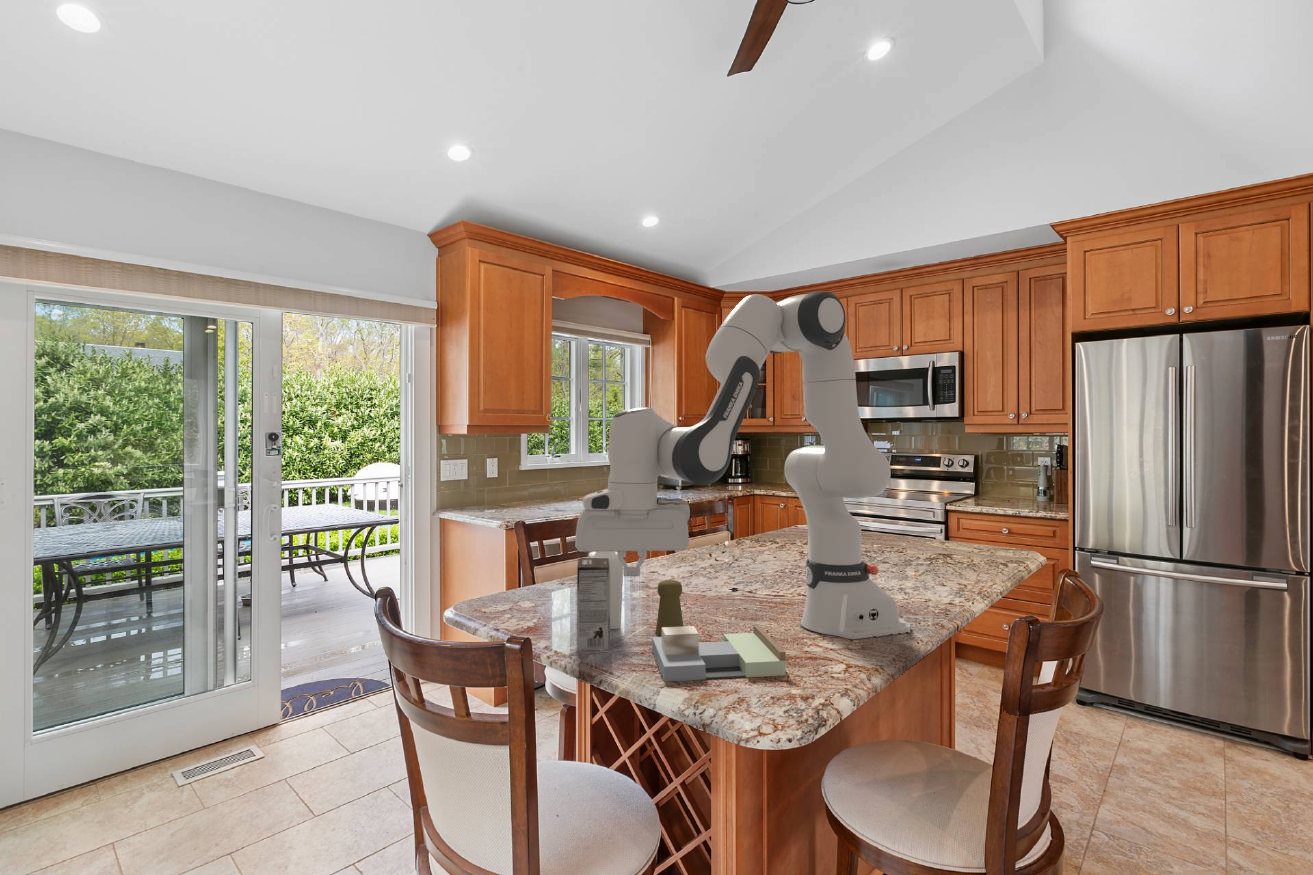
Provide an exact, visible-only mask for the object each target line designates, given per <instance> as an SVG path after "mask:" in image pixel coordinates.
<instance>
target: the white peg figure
mask: <svg viewBox="0 0 1313 875" xmlns="http://www.w3.org/2000/svg"><path fill="white" fill-rule="evenodd" d="M587 558H608V559H609V566H610V630H616V629H621V627H622V608H623V606H622V605H623V579H624V578H623V577H624V575H623V565H622V563H621V561H620V560H619V558H618V556H617V551H594V552H588V555H587Z"/></svg>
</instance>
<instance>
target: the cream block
mask: <svg viewBox="0 0 1313 875" xmlns="http://www.w3.org/2000/svg"><path fill="white" fill-rule="evenodd" d="M699 634H700V633H699V632H698V630H697V629H696V627H695V626H693V625H692V626H691V625H688V626H683V627H662V649H663V651H664V653H665V655H672V654H694V653H699V643H700V640H699V639H700V638H699V637H700V635H699Z"/></svg>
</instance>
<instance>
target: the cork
mask: <svg viewBox="0 0 1313 875" xmlns="http://www.w3.org/2000/svg"><path fill="white" fill-rule="evenodd" d="M682 593H683V585H682V583H681V582H680V581H679V580H675V579H663V580H661V581H660V582H659V583H658V584H657V594H658V596H659V603H658V604H659V605H658V612H657V618H656V627H655V635H656V637H659V636H660V637H662V627H684V621H683V613H682V605H681V604H682V603H681V595H682Z"/></svg>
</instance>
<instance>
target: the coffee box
mask: <svg viewBox="0 0 1313 875" xmlns="http://www.w3.org/2000/svg"><path fill="white" fill-rule="evenodd" d="M576 567H577V569H576V572H577V573H576V574H577V575H576V579H577V580H576V589H577V590H576V622H577V623H576V625H577V626H576V628H577V630H576V636H577V637H576V638H577V639H576V640H577V641H576V642H577V643H576V644H577V645H576V646H577V648H576V649H577V651H596V650H595V649H608V650H610V636H611V634H610V631H611V629H610V566H609V559H608V558H588V557H582V558H581V557H580V558H578V560H577V566H576Z"/></svg>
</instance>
